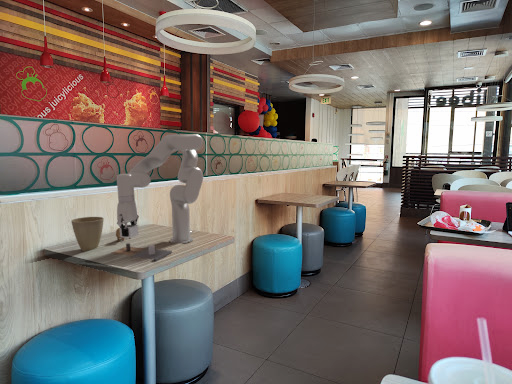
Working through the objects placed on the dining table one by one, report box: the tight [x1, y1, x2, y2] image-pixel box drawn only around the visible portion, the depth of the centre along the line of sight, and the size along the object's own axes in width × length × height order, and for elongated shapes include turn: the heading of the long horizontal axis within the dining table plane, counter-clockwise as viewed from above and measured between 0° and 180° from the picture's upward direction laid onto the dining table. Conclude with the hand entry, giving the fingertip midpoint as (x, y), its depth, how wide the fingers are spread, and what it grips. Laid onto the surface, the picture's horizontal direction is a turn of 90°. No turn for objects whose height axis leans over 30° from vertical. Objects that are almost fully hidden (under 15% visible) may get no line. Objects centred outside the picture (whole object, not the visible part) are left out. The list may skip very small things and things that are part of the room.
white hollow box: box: [119, 224, 139, 239], centre depth 172 cm, size 6×6×5 cm
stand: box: [111, 242, 147, 256], centre depth 172 cm, size 12×12×4 cm
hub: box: [130, 244, 173, 262], centre depth 167 cm, size 14×14×5 cm
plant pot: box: [71, 216, 104, 252], centre depth 178 cm, size 15×15×16 cm
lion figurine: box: [115, 227, 132, 242], centre depth 194 cm, size 15×5×9 cm, turn 4°
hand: (129, 234), depth 172 cm, fingers closed on white hollow box, 6 cm apart
